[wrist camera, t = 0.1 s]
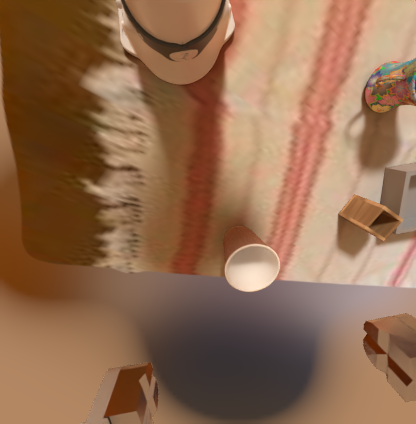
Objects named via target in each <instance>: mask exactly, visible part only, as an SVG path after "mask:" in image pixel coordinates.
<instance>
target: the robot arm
mask: <svg viewBox="0 0 416 424" xmlns="http://www.w3.org/2000/svg"><path fill="white" fill-rule="evenodd" d="M116 4H117V7H118V12H119V24H120V36H121V43H122V46H123V48H124V49H125V50H126V51H127V52H128V53H130V54H132V55H133V56H135V57H137V58H139V59H140V60H142V61H143V62H144V64H145V65H146V66H147V67H148V68H149V69H150V70H151V71H152V72H153V73H154V74H155V75H156V76H157V77H159V78H160V79H162V80H164V81H166V82H169V83H173V84H189V83H193V82H195V81H197V80H199V79H201V78H202V77H203V76H205V75H206V74H207V73H208V72H209V71H210V69H211V68H212V67H213V65H214V63H215V62H216V59H217V57H218V55H219V52H220V50H221V48H222V46H223V45H224V44H225V43H226V42H227V41H228V39H229V38H230V37H231V36H232V34H233V32H234V28H235V23H234V19H233V15H232V11H231V5H230V3H229V0H116ZM364 330H365V331H366V333H367V335H366V336H365V337H364V339H363V343H364V344H363V346H364V349H365V352H366V355H367V356H368V358H369V360H370V361H371V362H372V364H373V365H374V366H375V367H376V368H377V369H379V370H380V371H382V372H384V373H386V376H387V381H388V382H389V384H390V385H391V386H392V387H393V388H394V389H395V390H396V392H397V393H398V394H399V395H400V396H401V397H402V399H403V400H404V401H405V402H409V401H415V400H416V318H414V317H413V316H412V315H409V314H407V313H405V314H400V315H394V316H388V317H383V318H378V319H374V320H369V321H366V322H365V323H364ZM152 373H153V367H152V364H151V362H147V363H141V364H134V365H128V366H123V367H117V368H111V369H109V370H108V371H107V372H106V373H105V376H104V378H103V380H102V383H101V385H100V388H99V390H98V393H97V395H96V398H95V400H94V403H93V405H92V407H91V410H90V412H89V415H88V417H87V420H86V422H83V423H80V424H154V422H153V419H152V417H153V416H154V414H155V413H156V411H157V407H158V384H157V380H156V378H155V377H153V376H152Z"/></svg>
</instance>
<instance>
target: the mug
mask: <svg viewBox="0 0 416 424" xmlns="http://www.w3.org/2000/svg"><path fill="white" fill-rule="evenodd" d="M365 98H366V102H367V104H368V106H369V107H370V108H371V109H372V110H373V111H375V112H380V113H383V112H388V111H390V110H392V109H394V108H396V107H397V106H401V105H414V106H416V58H415V59H413V60H411V61H408V62H404V63H400V62H396V61H393V62H388V63H385V64H383V65H382V66H380V67H379V68H378V69H376V70H375V72H374V73H373V74H372V75H371V77H370V79H369V81H368V83H367V86H366V90H365Z"/></svg>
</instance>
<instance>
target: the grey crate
mask: <svg viewBox="0 0 416 424" xmlns="http://www.w3.org/2000/svg"><path fill="white" fill-rule="evenodd" d="M380 204H381V205H384V206H385V207H387V208H388V209H390V210H391V211H392V212H394V213H395V214H397V215H398V216H399V217H401V218H402V219H404V220H403V221H402V222H401V223H400V224H399V226H398V227H397V228H396V229H395V230H394V231H393V232H392V233H394V234H400V233H406V232H411V231H416V163H410V164H404V165H398V166H393V167H387V168H385V174H384V181H383V188H382V195H381V202H380Z"/></svg>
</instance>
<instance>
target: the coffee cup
mask: <svg viewBox="0 0 416 424" xmlns="http://www.w3.org/2000/svg"><path fill="white" fill-rule="evenodd" d="M224 254H225V277H226V279H227V281H228V283H229V284H230V285H231V286H232V287H234V288H235V289H237V290H240V291H244V292H253V291H258V290H261V289H263V288H265V287H267V286H268V285H270V284H271V283H272V282H273V281H274V280H275V278H276V277H277V275H278V273H279V269H280V261H279V258H278V255H277V254H276V253H275V251H274V250H272V249H271V248H270V247H268V246H267V245H266V244H265V243H264V242H263V241H262V240H261V239H260V238H259V237H258V236H257V235H256V234H255V233H254V232H253V231H251V230H250V229H248V228H247V227H244V226H235V227H233V228H231V229H230V230H228V232H227V233H226V235H225V237H224Z"/></svg>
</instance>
